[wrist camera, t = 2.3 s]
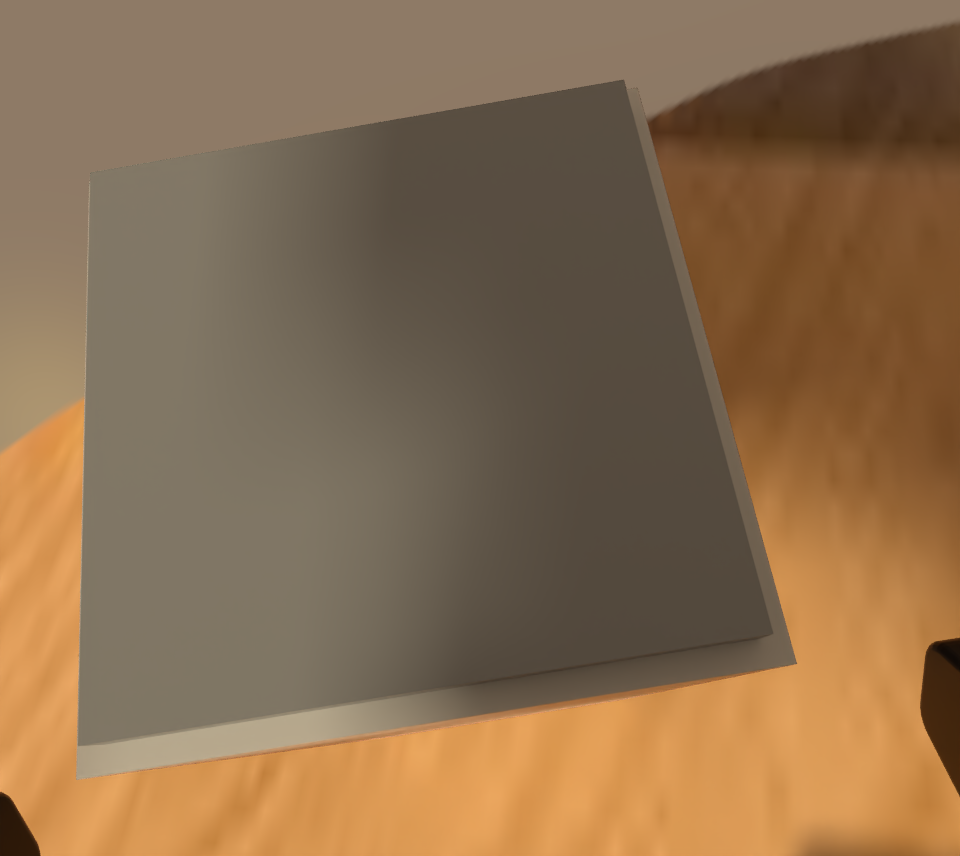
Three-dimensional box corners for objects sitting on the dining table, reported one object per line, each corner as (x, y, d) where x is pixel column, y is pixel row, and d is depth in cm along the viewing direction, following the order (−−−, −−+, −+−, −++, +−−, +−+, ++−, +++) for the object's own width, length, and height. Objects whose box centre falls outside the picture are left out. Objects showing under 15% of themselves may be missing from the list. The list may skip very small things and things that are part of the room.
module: (622, 699, 17) (814, 660, 5) (392, 736, 17) (46, 784, 5) (576, 467, 19) (636, 34, 7) (367, 502, 19) (68, 134, 7)
